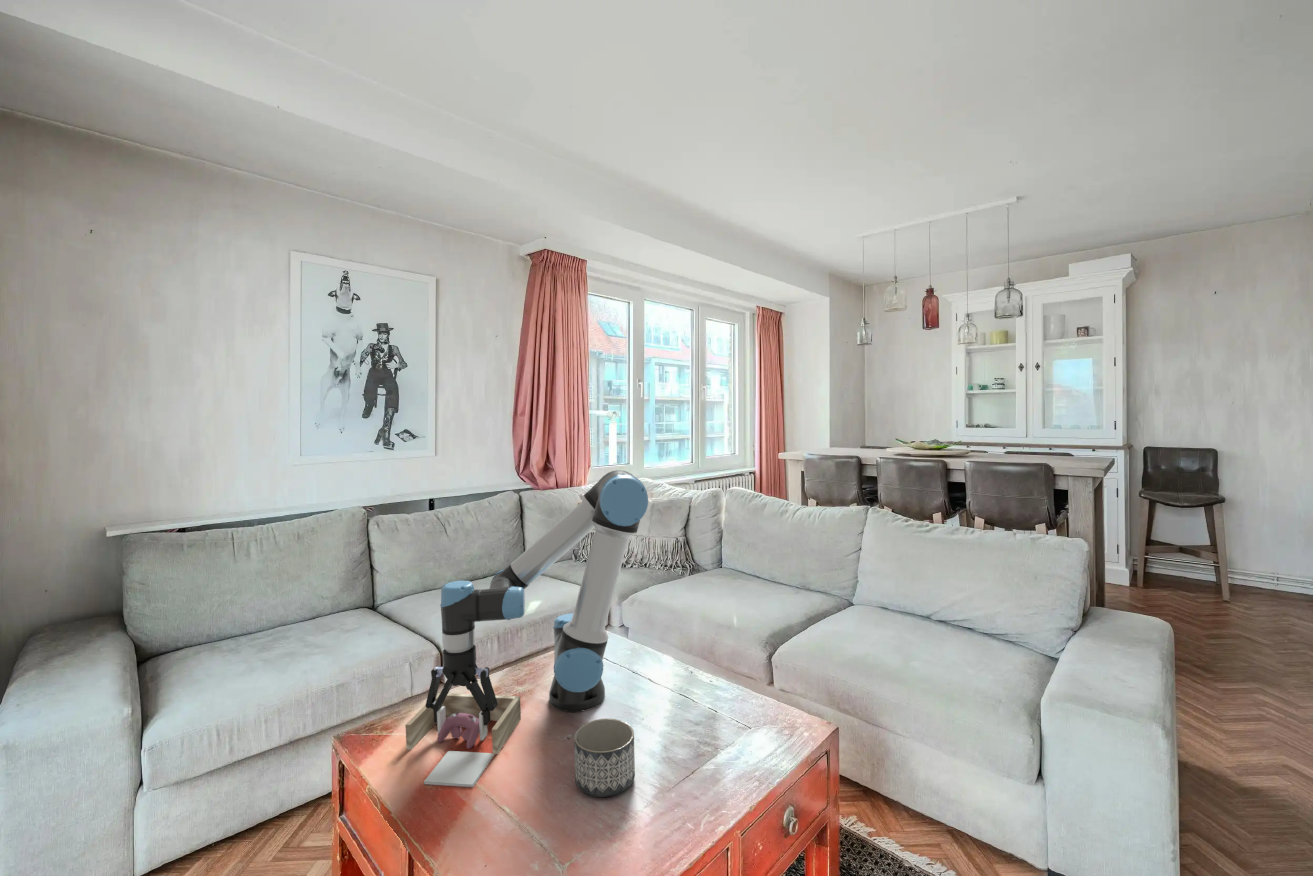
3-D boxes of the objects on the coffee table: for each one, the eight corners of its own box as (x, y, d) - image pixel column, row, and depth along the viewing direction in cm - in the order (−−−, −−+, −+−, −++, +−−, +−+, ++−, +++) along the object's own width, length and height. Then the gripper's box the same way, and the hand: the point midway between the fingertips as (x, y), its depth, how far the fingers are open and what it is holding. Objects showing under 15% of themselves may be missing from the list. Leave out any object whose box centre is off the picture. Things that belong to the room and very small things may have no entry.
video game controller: (480, 748, 139) (486, 716, 141) (469, 749, 135) (476, 716, 137) (445, 741, 142) (453, 710, 144) (434, 742, 138) (442, 710, 141)
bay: (520, 719, 148) (520, 696, 148) (497, 754, 133) (496, 729, 133) (438, 715, 151) (437, 692, 151) (406, 749, 136) (405, 724, 136)
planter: (611, 810, 115) (610, 759, 114) (562, 788, 121) (561, 740, 121) (646, 775, 125) (645, 728, 125) (599, 757, 132) (598, 712, 131)
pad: (493, 755, 133) (493, 753, 133) (473, 787, 122) (473, 784, 122) (448, 753, 134) (448, 750, 134) (424, 784, 123) (423, 781, 123)
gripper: (509, 641, 142) (513, 729, 143) (423, 639, 145) (427, 725, 146) (498, 654, 134) (501, 747, 136) (406, 651, 137) (411, 742, 138)
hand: (462, 736), depth 141 cm, fingers closed on video game controller, 10 cm apart
